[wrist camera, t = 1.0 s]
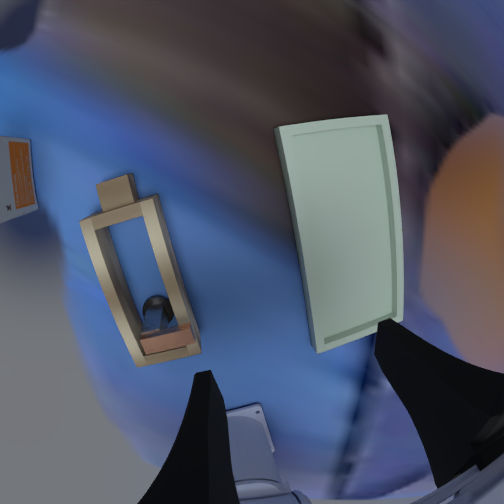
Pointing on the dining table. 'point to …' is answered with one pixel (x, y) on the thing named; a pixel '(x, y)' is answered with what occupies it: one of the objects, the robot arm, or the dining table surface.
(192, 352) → the tan rectangular frame
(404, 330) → the robot arm
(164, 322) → the rubber stamp
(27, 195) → the skincare box
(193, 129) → the dining table surface
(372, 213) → the tray
